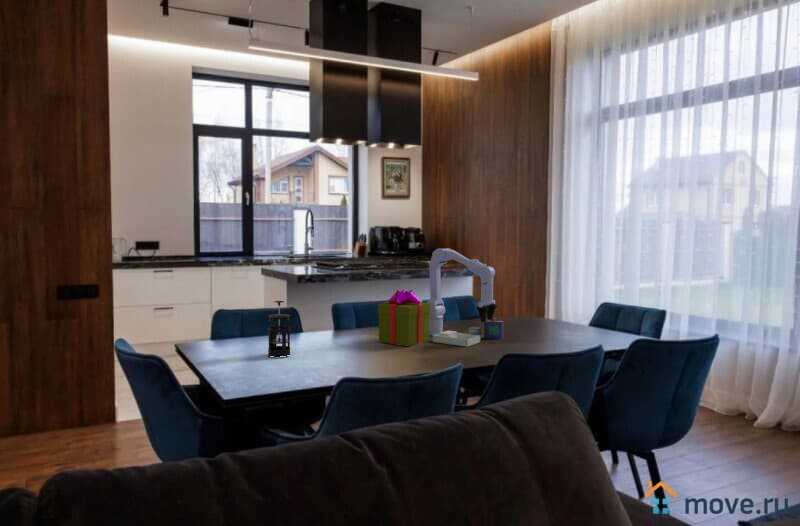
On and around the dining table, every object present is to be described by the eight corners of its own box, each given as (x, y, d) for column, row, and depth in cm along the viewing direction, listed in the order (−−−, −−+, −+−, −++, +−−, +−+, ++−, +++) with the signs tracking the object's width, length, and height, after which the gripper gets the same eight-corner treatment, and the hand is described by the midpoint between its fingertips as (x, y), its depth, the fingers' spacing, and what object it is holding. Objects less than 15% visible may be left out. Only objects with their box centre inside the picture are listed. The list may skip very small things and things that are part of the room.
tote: (432, 342, 270) (432, 335, 269) (446, 338, 281) (446, 331, 280) (467, 347, 259) (467, 339, 259) (480, 343, 270) (480, 335, 270)
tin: (468, 340, 276) (468, 328, 276) (472, 339, 280) (472, 326, 280) (477, 341, 274) (477, 329, 273) (481, 340, 277) (481, 327, 277)
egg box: (439, 341, 271) (439, 332, 270) (447, 338, 277) (447, 330, 277) (448, 342, 268) (448, 334, 268) (456, 339, 274) (457, 331, 274)
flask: (502, 338, 281) (502, 317, 281) (503, 340, 278) (503, 318, 278) (483, 338, 282) (483, 316, 281) (484, 339, 279) (484, 317, 278)
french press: (295, 356, 238) (295, 301, 237) (274, 359, 233) (274, 303, 231) (282, 351, 248) (282, 298, 246) (262, 354, 242) (261, 300, 241)
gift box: (393, 336, 285) (393, 286, 283) (432, 340, 276) (433, 288, 274) (374, 344, 266) (374, 290, 265) (415, 348, 257) (416, 292, 256)
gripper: (488, 294, 264) (487, 323, 265) (501, 291, 276) (500, 319, 277) (474, 293, 268) (473, 322, 269) (487, 290, 280) (487, 318, 281)
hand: (486, 320), depth 273 cm, fingers open, 7 cm apart
